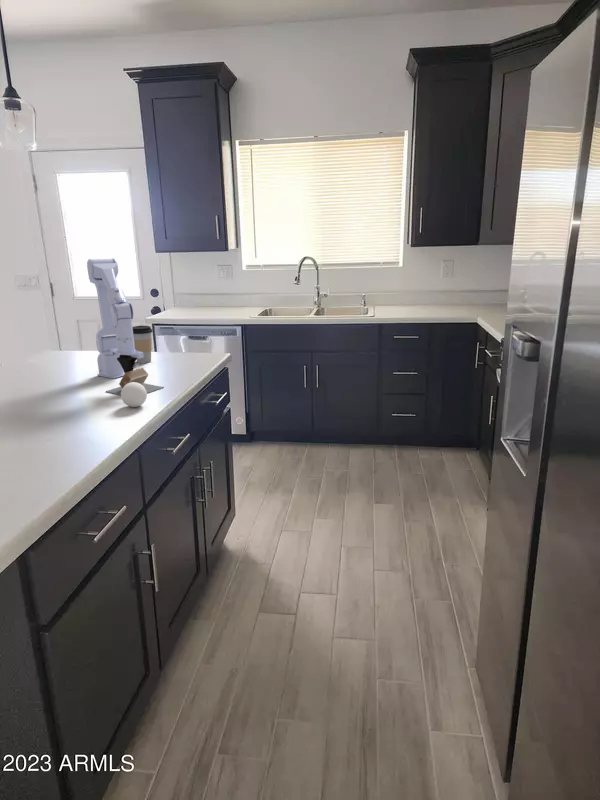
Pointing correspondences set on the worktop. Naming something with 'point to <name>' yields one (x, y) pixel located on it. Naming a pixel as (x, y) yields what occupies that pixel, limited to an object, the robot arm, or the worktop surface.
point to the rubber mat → (148, 387)
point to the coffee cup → (143, 342)
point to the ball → (133, 394)
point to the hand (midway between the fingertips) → (129, 376)
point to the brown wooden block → (134, 377)
